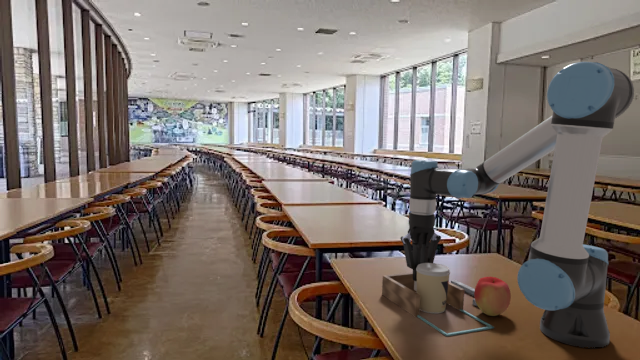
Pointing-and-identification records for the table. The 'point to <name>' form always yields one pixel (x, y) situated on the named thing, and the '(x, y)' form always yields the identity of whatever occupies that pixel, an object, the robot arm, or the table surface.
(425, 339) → the table surface
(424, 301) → the coffee cup
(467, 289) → the crook tool
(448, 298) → the cubby
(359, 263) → the table surface
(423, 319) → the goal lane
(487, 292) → the apple
